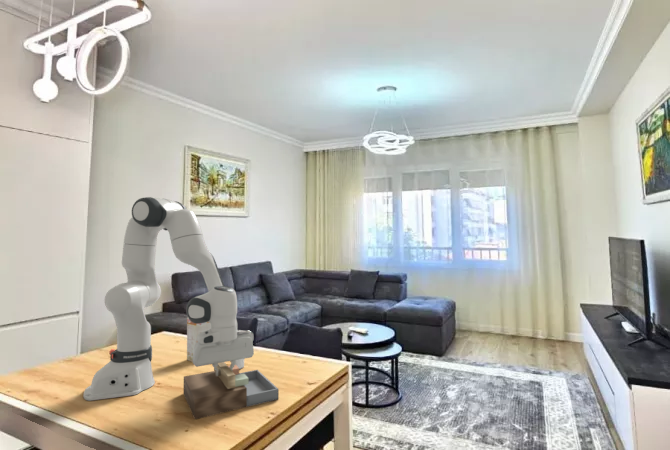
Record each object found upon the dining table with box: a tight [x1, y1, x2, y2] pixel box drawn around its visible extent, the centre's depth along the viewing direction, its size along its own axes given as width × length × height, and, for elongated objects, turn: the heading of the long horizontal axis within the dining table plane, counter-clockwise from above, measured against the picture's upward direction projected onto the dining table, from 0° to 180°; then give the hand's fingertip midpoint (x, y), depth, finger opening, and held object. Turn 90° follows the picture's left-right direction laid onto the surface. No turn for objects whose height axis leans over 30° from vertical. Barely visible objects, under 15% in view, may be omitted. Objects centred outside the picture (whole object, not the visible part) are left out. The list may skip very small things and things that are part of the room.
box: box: [237, 369, 280, 408], centre depth 132 cm, size 11×22×4 cm, turn 30°
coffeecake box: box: [186, 316, 211, 363], centre depth 172 cm, size 15×7×20 cm, turn 141°
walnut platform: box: [183, 370, 248, 420], centre depth 125 cm, size 16×22×6 cm
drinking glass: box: [236, 329, 245, 370], centre depth 157 cm, size 7×7×15 cm
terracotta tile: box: [227, 364, 240, 375], centre depth 133 cm, size 5×5×2 cm
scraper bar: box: [213, 362, 235, 389], centre depth 127 cm, size 2×20×4 cm, turn 30°
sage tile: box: [235, 374, 249, 387], centre depth 124 cm, size 5×5×2 cm
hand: (224, 374), depth 127 cm, fingers closed on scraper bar, 2 cm apart
